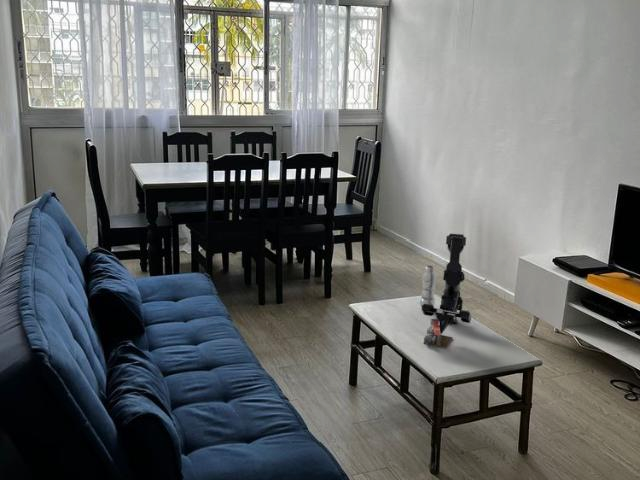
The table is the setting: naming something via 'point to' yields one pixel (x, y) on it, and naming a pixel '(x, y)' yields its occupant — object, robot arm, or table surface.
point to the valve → (436, 338)
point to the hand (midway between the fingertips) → (441, 333)
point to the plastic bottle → (428, 286)
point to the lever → (435, 325)
